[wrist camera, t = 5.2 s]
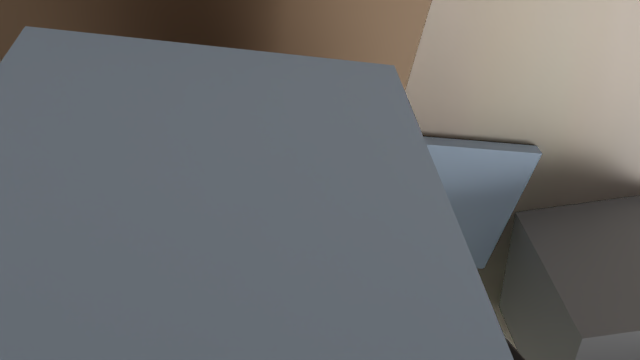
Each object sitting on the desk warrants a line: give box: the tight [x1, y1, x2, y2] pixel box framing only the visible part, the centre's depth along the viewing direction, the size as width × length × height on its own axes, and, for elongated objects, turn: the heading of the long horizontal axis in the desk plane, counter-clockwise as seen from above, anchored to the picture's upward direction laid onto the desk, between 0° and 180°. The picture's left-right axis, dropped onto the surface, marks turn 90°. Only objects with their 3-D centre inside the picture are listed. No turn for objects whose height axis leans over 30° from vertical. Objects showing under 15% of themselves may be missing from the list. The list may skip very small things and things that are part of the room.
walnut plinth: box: [0, 0, 432, 90], centre depth 12 cm, size 7×7×4 cm
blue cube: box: [0, 26, 514, 360], centre depth 8 cm, size 5×5×5 cm
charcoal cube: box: [499, 195, 640, 360], centre depth 19 cm, size 5×5×5 cm
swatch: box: [423, 136, 542, 269], centre depth 18 cm, size 5×5×1 cm
